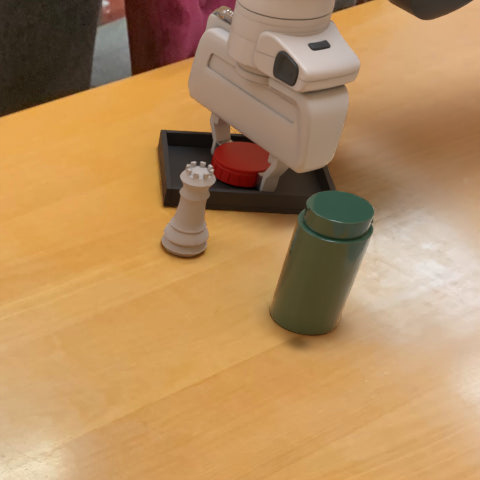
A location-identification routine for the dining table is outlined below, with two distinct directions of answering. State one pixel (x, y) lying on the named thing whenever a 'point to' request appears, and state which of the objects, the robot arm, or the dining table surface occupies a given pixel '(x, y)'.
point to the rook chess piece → (190, 213)
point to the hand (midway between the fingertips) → (241, 173)
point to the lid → (239, 163)
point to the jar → (322, 262)
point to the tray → (229, 196)
